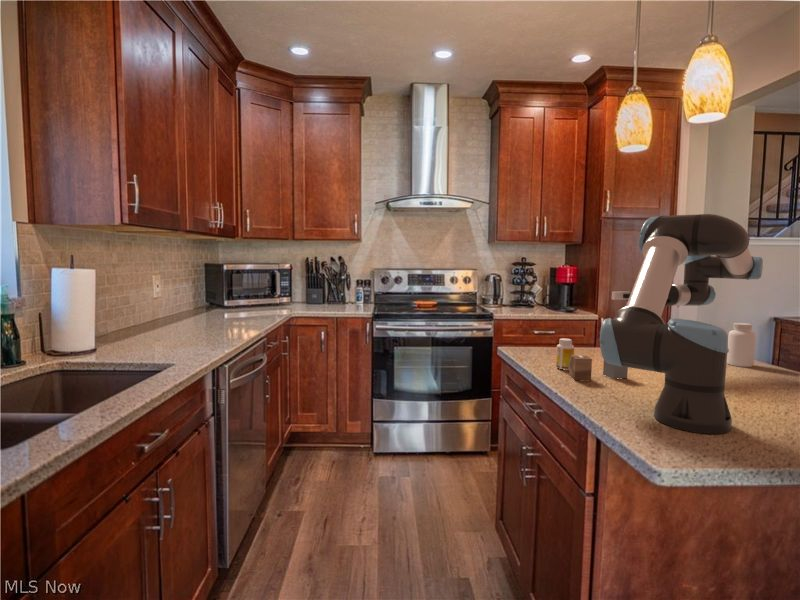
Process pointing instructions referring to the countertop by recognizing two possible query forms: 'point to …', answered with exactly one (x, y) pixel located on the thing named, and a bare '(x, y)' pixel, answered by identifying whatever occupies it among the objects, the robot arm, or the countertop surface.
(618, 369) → the slate block
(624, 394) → the countertop surface
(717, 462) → the countertop surface
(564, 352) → the supplement bottle
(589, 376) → the walnut block
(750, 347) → the pill bottle
